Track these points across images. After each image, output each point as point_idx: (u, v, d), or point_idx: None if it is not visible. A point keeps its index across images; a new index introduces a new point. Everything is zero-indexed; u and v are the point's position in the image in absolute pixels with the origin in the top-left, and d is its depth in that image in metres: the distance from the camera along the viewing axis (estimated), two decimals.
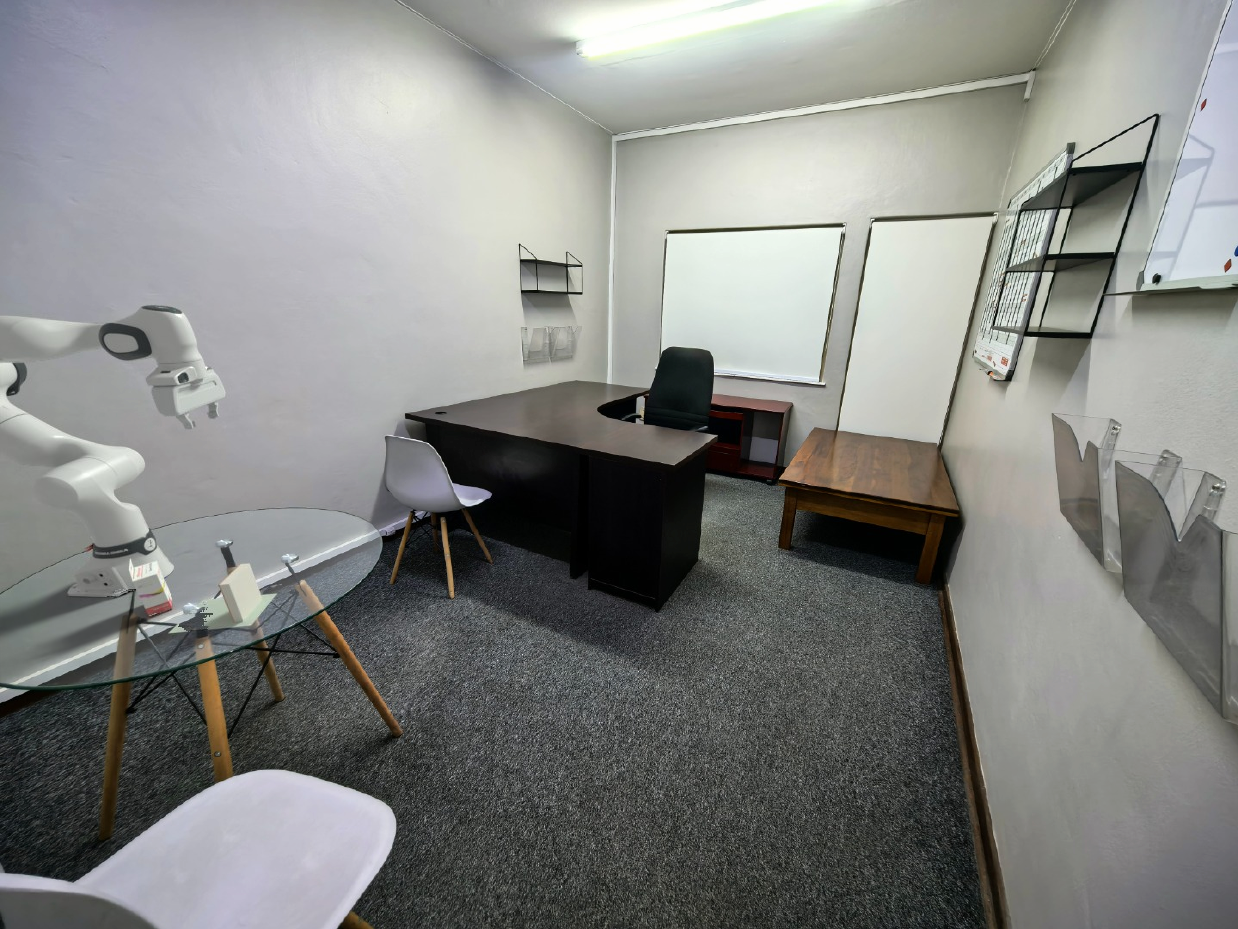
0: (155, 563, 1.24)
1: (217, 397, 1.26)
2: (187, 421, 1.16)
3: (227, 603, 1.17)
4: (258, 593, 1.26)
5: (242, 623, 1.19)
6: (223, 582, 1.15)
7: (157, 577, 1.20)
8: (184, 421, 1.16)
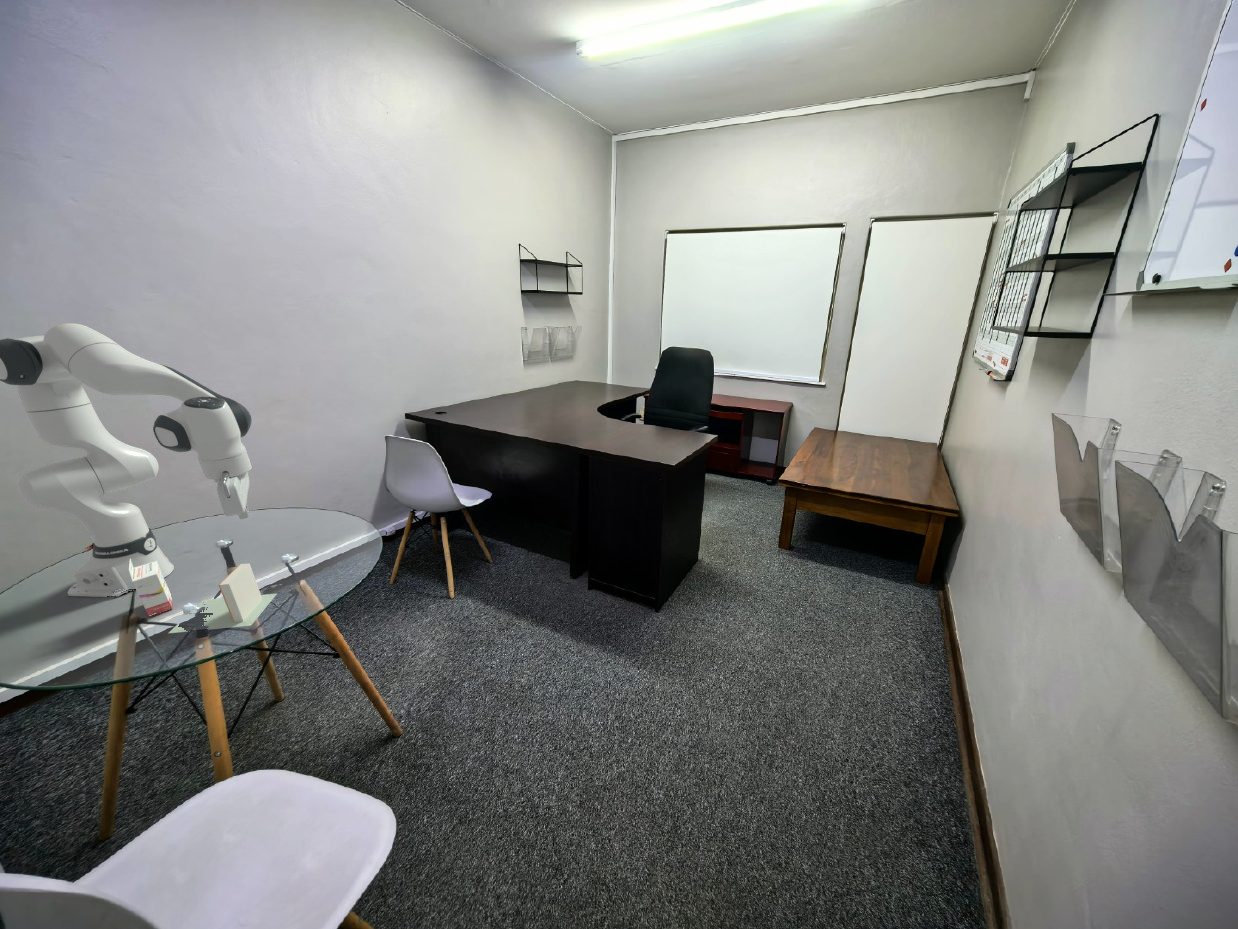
0: (155, 563, 1.24)
1: None
2: None
3: (227, 603, 1.17)
4: (258, 593, 1.26)
5: (242, 623, 1.19)
6: (223, 582, 1.15)
7: (157, 577, 1.20)
8: None
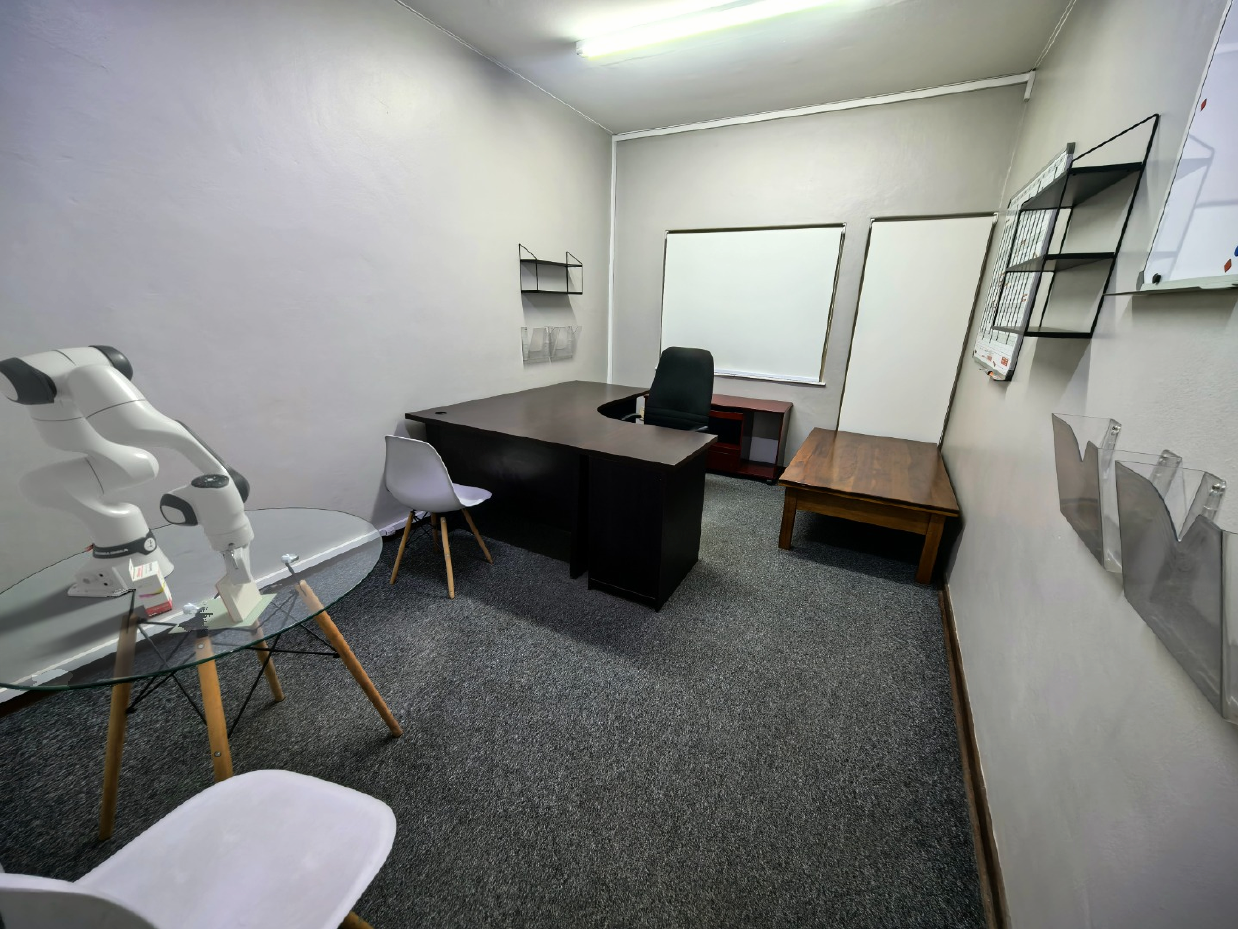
0: (155, 563, 1.24)
1: None
2: None
3: (225, 603, 1.17)
4: (257, 593, 1.26)
5: (242, 623, 1.19)
6: (219, 582, 1.15)
7: (157, 577, 1.20)
8: None
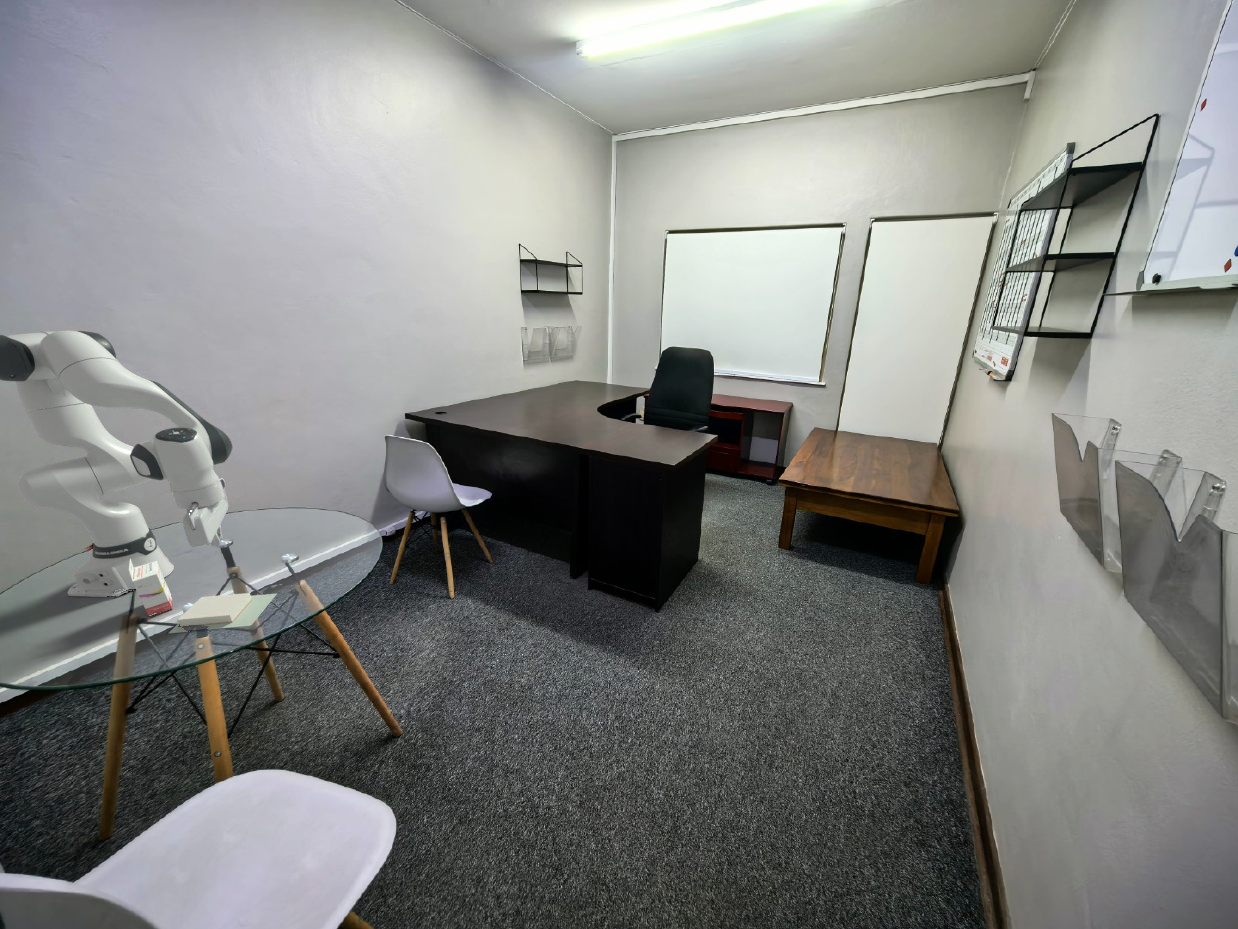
0: (155, 563, 1.24)
1: None
2: None
3: (205, 623, 1.18)
4: (238, 595, 1.25)
5: (242, 623, 1.19)
6: None
7: (157, 577, 1.20)
8: None
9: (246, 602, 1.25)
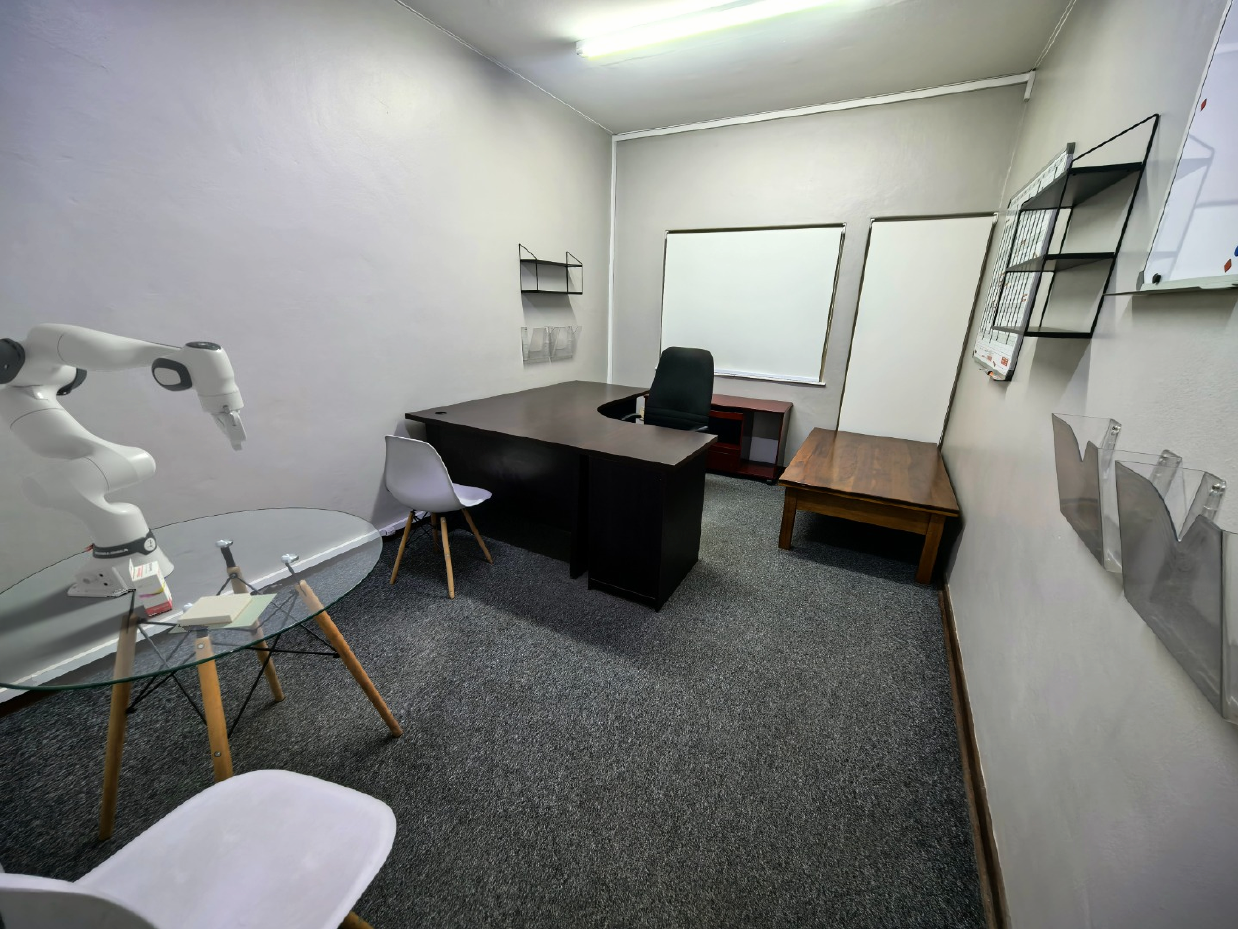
0: (155, 563, 1.24)
1: (227, 437, 1.23)
2: None
3: (205, 623, 1.18)
4: (238, 595, 1.25)
5: (242, 623, 1.19)
6: None
7: (157, 577, 1.20)
8: None
9: (246, 602, 1.25)
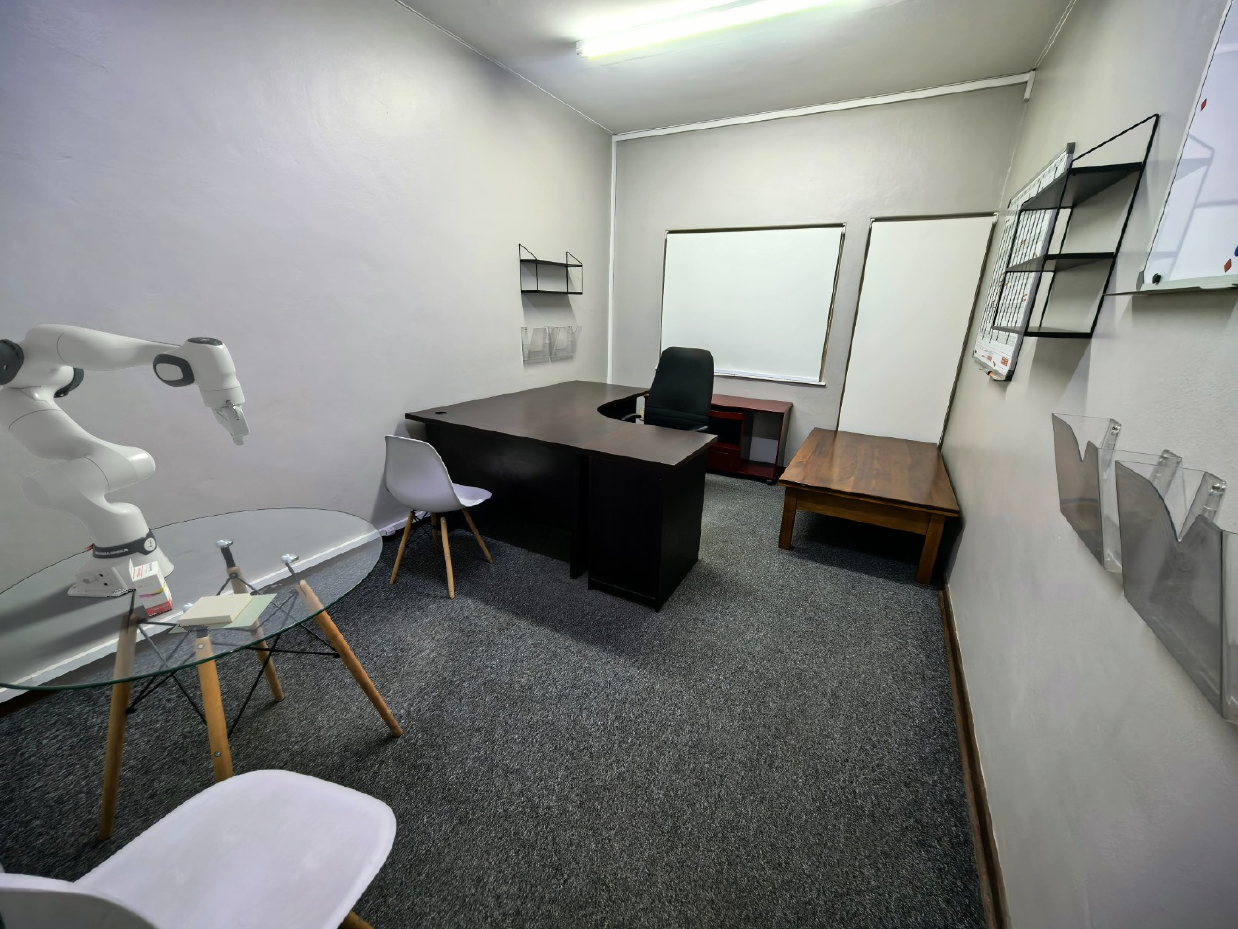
0: (155, 563, 1.24)
1: (230, 431, 1.25)
2: None
3: (205, 623, 1.18)
4: (238, 595, 1.25)
5: (242, 623, 1.19)
6: None
7: (157, 577, 1.20)
8: None
9: (246, 602, 1.25)
